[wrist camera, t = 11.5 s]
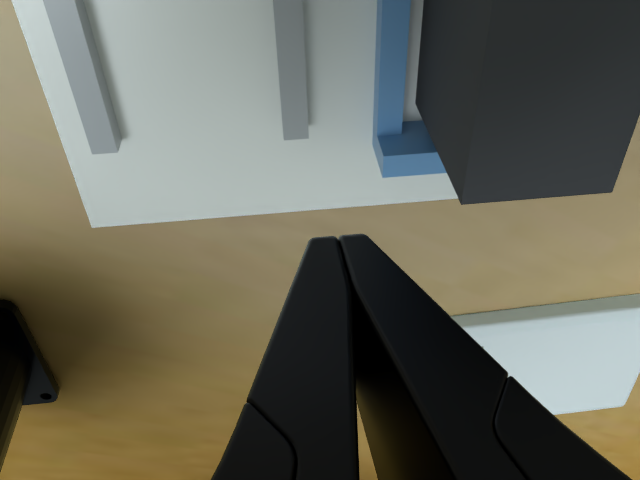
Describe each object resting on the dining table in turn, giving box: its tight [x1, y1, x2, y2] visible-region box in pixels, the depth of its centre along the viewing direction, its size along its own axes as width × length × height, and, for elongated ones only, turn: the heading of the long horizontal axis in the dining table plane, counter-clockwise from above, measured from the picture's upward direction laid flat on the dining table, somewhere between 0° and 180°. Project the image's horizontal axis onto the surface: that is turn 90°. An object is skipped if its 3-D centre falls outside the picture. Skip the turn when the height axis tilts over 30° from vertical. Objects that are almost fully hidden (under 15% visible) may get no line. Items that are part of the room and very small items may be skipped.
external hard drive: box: [450, 294, 640, 415], centre depth 30 cm, size 2×8×12 cm
